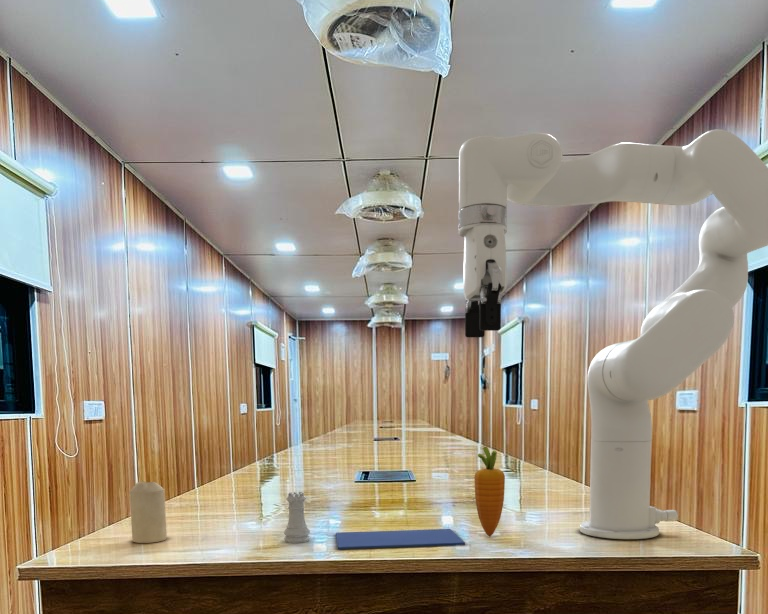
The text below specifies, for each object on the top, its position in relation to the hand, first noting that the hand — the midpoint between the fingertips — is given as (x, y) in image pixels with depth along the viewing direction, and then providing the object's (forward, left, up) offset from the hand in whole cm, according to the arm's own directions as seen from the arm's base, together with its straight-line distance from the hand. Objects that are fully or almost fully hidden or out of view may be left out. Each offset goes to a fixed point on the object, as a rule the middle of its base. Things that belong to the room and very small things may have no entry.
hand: (482, 333), depth 106 cm
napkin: (+14, -1, -33) cm, 36 cm away
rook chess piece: (+31, -3, -34) cm, 45 cm away
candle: (+56, -8, -33) cm, 65 cm away
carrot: (-1, -1, -33) cm, 33 cm away
